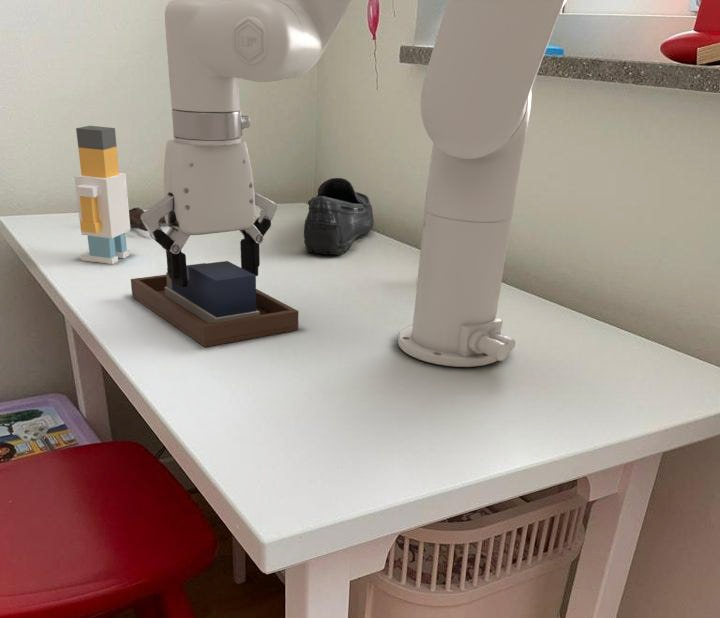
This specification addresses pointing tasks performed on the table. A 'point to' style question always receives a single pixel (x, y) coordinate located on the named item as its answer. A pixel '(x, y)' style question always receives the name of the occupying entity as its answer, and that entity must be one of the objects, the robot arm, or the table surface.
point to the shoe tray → (269, 322)
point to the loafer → (336, 218)
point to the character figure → (101, 195)
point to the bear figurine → (139, 218)
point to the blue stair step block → (216, 292)
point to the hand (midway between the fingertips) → (215, 279)
